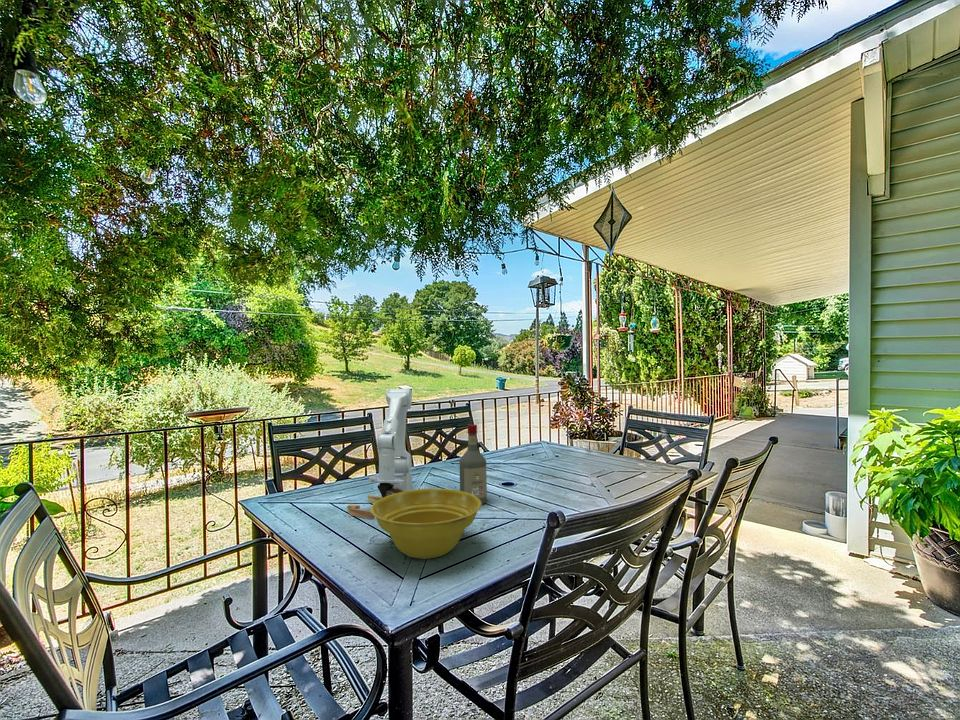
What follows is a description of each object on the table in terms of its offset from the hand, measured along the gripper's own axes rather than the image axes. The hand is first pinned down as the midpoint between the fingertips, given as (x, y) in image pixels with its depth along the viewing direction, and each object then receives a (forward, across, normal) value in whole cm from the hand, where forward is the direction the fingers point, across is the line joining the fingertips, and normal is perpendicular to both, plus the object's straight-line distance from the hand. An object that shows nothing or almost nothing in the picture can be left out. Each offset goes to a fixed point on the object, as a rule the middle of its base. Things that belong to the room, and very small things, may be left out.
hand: (386, 503), depth 160 cm
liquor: (+2, +26, +21) cm, 33 cm away
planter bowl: (+4, +30, -22) cm, 37 cm away
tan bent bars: (+3, +1, +1) cm, 3 cm away
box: (+3, +2, +1) cm, 4 cm away
